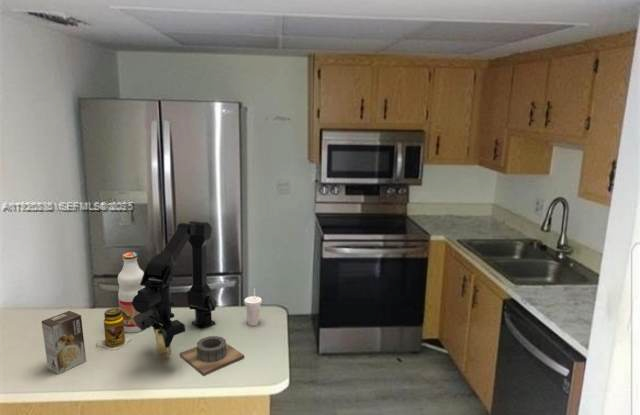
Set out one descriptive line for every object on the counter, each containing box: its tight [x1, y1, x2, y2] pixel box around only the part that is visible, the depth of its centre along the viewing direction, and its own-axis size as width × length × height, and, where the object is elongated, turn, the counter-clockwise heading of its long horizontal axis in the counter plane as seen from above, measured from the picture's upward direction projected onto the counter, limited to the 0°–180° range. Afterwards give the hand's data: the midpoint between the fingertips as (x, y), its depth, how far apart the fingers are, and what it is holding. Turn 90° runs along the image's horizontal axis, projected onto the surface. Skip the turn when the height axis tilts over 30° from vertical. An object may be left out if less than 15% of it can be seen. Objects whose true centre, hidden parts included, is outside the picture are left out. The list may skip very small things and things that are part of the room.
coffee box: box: [41, 310, 87, 375], centre depth 147 cm, size 9×6×16 cm
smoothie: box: [244, 288, 263, 327], centre depth 177 cm, size 6×6×14 cm
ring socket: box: [179, 335, 245, 376], centre depth 155 cm, size 15×15×5 cm
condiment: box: [96, 307, 132, 351], centre depth 162 cm, size 7×8×12 cm
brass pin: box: [155, 326, 172, 359], centre depth 152 cm, size 4×4×9 cm
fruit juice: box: [117, 251, 145, 334], centre depth 171 cm, size 9×9×28 cm
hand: (163, 344), depth 153 cm, fingers closed on brass pin, 4 cm apart
